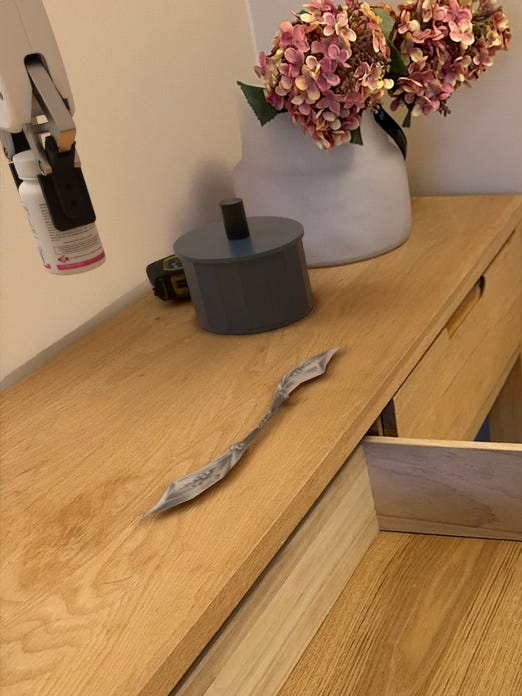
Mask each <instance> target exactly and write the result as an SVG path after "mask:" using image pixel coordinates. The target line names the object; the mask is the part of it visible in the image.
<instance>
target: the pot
mask: <svg viewBox="0 0 522 696" xmlns="http://www.w3.org/2000/svg"><path fill="white" fill-rule="evenodd" d="M181 262H182V266H183V269H184V273H185V277H186V281H187V284H188V288H189V292H190V295H191V296H190V299H191V303H192V306H193V310H194V315H195V317H196V321H197V324H198V325H199V326H200V327H201V329H204V330H205V331H207V332H210V333H214V334H220V335H234V336H235V335H252V334H258V333H264V332H268V331H273V330H276V329H280V328H283V327H286V326H289V325H291V324H293V323H295V322H298V321H299V320H301V319H303V318H304V317H306V316H307V315H308V314H309V313H310V312H311V311H312V310H313V309H312V308H313V307H314V296H313V295H314V294H313V290H312V284H311V279H310V274H309V270H308V264H307V258H306V253H305V247H304V242H303V238H302V239H301V240H300V241H299V242H298V243H296V244H295V245H293V246H291V247H290V248H288V249H285V250H283V251H281V252H278V253H275V254H272V255H269V256H265V257H261V258H257V259H253V260H247V261H241V262H234V263H222V264H203V263H194V262H189V261H185V260H182V259H181Z"/></svg>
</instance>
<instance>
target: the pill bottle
mask: <svg viewBox="0 0 522 696" xmlns="http://www.w3.org/2000/svg"><path fill="white" fill-rule="evenodd" d="M43 147H44V150H45V146H43ZM13 162H14V165H15V168H16V171H17V174H18V175H19V178H20V179H22V180H23V183H22V184H21V185H20V187H19V193H18V196H19V195H20V196H19V198H21V199H20V201H21V204H22V207H23V210H24V213H25V215H26V218H27V221H28V223H29V227H30V229H31V233H32V235H33V238H34V241H35V244H36V246H37V250H38V252H39V255H40V257H41V261H42V265H43V267H44V269H45V271H46V272H47V273H48V274H51V275H54V276H74V275H80V274H83V273H88V272H90V271H94V270H96V269H98V268H100V267H101V266H103V265H104V264H105V263H106V260H107V256H106V252H105V249H104V247H103V246H104V245H103V243H102V241H101V237H100V234H99V230H98V227H97V225H96V221H95V222H94V223H91V224H87V225H84V226H80V227H77V228H73V229H69V230H66V231H59V230H57V229H55V228H54V226H53V223H52V220H51V217H50V214H49V211H48V208H47V205H46V202H45V199H44V196H43V193H42V190H41V187H40V184H39V181H38V178H37V175H38V174H42V173H41V171H40V169H39V167H38V164H37V162H36V159H35V157H34V155H33V152H32V150H27V151H24V152H21V153H18V154H16V155H15V156H13ZM13 162H12V163H13Z"/></svg>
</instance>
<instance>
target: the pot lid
mask: <svg viewBox="0 0 522 696" xmlns="http://www.w3.org/2000/svg"><path fill="white" fill-rule="evenodd" d="M243 200H244V199H243V198H241V197H228V198H224V199H222V200H220V201H219V202H218V205H219V210H220V214H221V217H222V218H221V220H220V221H216V222H212V223H209V224H205V225H203V226H200V227H197V228H194V229H192V230H190V231H187V232H186V233H185V234H182V235H181V236H180V237H178V238H177V239H176V240H175V241H174V243H173V245H172V250H173V253H174V254H175V255H176V256H177V257H178V258H180V259H182V260H185V261H189V262H194V263H203V264H222V263H234V262H241V261H247V260H253V259H257V258H261V257H265V256H269V255H272V254H275V253H278V252H281V251H283V250H285V249H288V248H290V247H291V246H293V245H295V244H296V243H298V242H299V241H300V240H301V239H302V240H303V238H304V236H305V227H304V225H303V224H302V223H301V222H300V221H298V220H296V219H293V218H289V217H285V216H284V217H283V216H277V215H276V216H275V215H273V216H272V215H257V216H247V213H246V210H245V205H244V201H243Z"/></svg>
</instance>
